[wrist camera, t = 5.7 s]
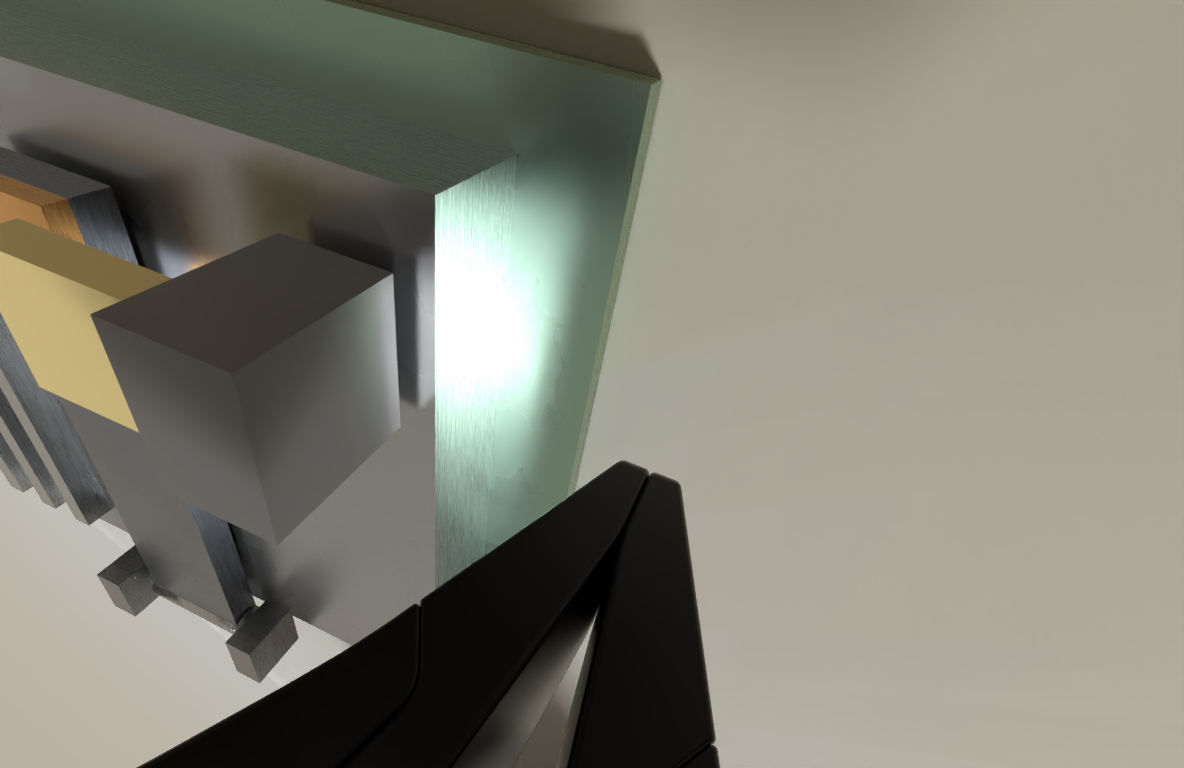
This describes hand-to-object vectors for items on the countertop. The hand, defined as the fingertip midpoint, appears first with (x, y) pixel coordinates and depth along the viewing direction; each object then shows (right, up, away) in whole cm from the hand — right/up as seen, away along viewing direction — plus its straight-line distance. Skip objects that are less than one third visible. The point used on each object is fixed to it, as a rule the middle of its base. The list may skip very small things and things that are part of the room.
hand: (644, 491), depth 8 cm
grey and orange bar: (-11, 0, +6) cm, 13 cm away
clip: (-6, +3, +2) cm, 7 cm away
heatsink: (-10, +2, +8) cm, 13 cm away
